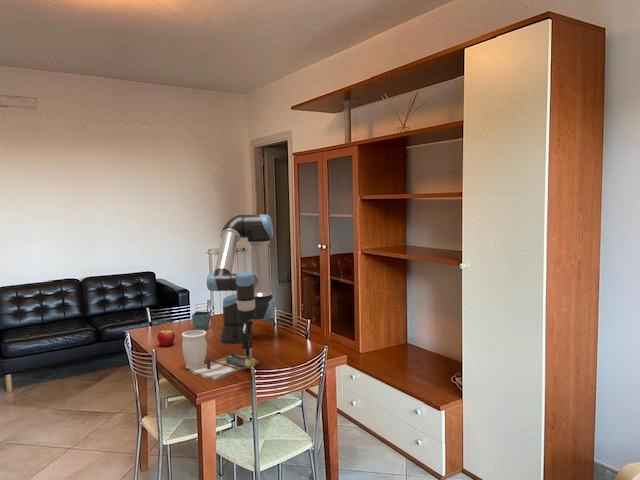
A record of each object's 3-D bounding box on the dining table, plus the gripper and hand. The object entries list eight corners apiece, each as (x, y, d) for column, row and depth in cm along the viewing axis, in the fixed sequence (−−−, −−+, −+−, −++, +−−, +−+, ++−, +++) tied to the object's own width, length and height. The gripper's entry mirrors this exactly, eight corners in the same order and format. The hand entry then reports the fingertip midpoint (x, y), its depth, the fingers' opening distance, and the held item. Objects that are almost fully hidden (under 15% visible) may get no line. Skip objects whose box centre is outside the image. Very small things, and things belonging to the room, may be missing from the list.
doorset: (189, 372, 203) (189, 358, 202) (234, 356, 222) (234, 343, 222) (214, 381, 193) (214, 366, 192) (259, 363, 213) (259, 350, 212)
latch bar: (224, 361, 210) (223, 353, 209) (231, 358, 213) (231, 350, 212) (248, 368, 200) (248, 360, 200) (255, 365, 203) (255, 357, 203)
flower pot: (207, 331, 266) (207, 315, 265) (192, 331, 266) (191, 315, 265) (211, 326, 275) (211, 311, 274) (196, 326, 275) (195, 311, 274)
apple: (154, 345, 241) (153, 326, 240) (169, 341, 247) (169, 322, 246) (162, 349, 235) (162, 329, 234) (178, 345, 241) (177, 325, 240)
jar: (185, 362, 215) (184, 329, 214) (209, 361, 216) (208, 329, 215) (180, 371, 204) (179, 336, 203) (205, 370, 205) (204, 335, 204)
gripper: (240, 305, 211) (242, 357, 213) (234, 313, 198) (236, 368, 200) (257, 305, 210) (259, 357, 213) (252, 312, 198) (254, 368, 200)
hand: (248, 362), depth 207 cm, fingers closed
